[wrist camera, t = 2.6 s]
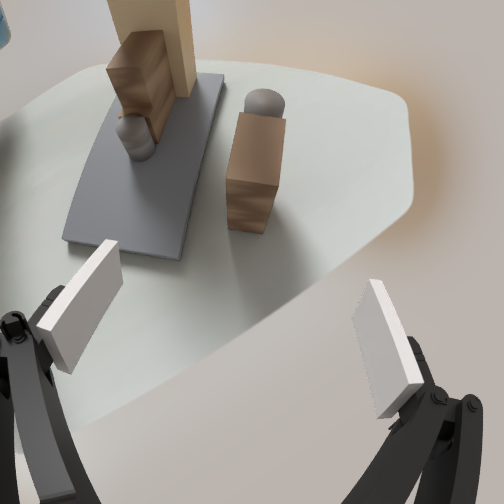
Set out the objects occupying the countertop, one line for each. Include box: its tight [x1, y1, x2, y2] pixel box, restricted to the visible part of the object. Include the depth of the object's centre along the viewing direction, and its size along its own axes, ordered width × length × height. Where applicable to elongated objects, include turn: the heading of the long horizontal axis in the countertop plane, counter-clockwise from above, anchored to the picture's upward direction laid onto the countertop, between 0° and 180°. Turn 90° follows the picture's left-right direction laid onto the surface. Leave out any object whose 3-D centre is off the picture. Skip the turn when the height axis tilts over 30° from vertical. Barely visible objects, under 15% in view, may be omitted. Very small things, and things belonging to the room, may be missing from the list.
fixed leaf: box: [106, 30, 176, 162], centre depth 26 cm, size 4×10×11 cm, turn 173°
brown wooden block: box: [226, 89, 286, 234], centre depth 26 cm, size 4×9×11 cm, turn 172°
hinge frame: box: [62, 0, 224, 261], centre depth 20 cm, size 14×25×25 cm, turn 172°
